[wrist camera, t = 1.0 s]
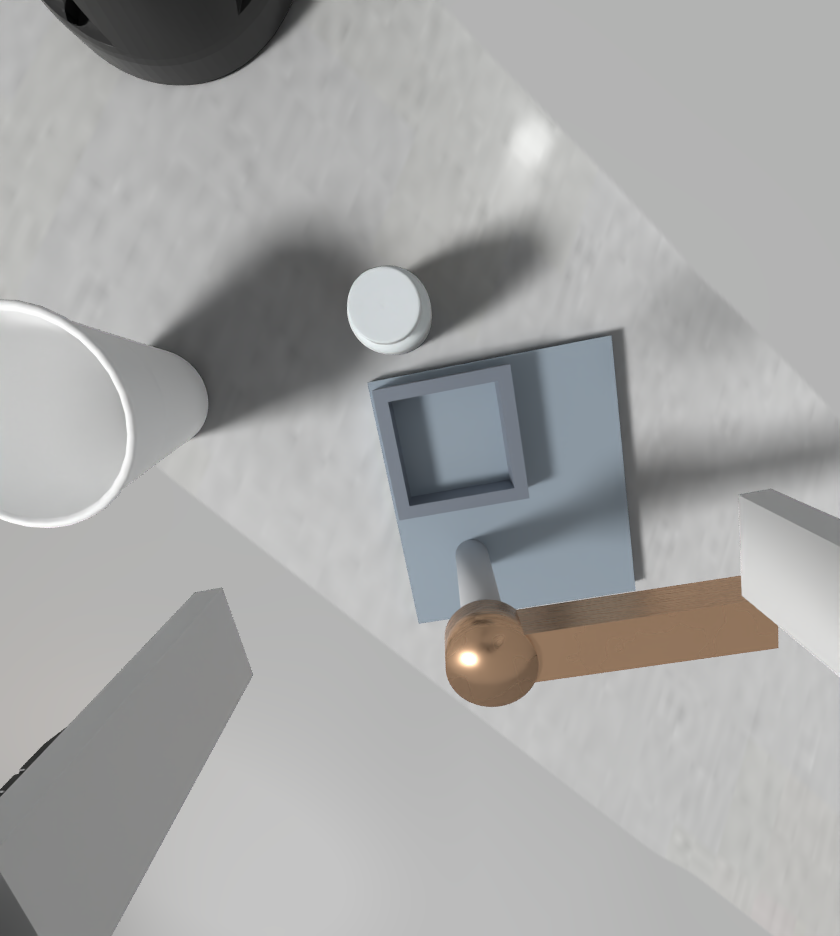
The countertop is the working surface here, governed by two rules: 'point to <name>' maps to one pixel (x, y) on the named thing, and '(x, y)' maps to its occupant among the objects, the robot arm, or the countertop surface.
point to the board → (508, 478)
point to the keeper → (597, 636)
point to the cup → (83, 414)
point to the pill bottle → (389, 310)
